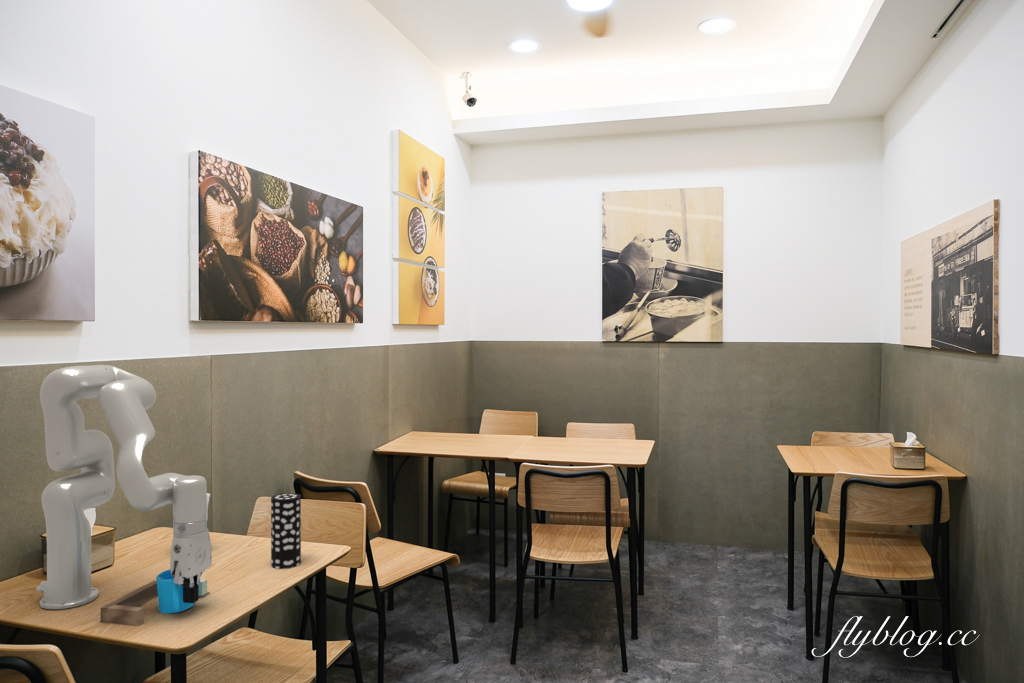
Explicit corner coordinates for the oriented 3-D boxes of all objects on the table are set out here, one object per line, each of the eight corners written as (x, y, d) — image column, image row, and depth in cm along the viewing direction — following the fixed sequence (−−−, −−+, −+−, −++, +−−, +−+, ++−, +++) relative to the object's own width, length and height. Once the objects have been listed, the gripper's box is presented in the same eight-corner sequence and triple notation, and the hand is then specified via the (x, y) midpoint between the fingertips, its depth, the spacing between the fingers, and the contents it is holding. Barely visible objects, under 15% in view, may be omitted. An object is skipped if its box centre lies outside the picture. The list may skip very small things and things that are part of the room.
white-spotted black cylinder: (265, 567, 200) (265, 498, 199) (282, 558, 208) (282, 492, 207) (289, 570, 197) (289, 500, 197) (306, 561, 205) (306, 494, 205)
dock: (100, 622, 161) (100, 607, 161) (162, 589, 182) (162, 576, 182) (152, 627, 159) (152, 612, 159) (209, 593, 180) (209, 579, 180)
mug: (159, 603, 172) (156, 571, 172) (194, 595, 176) (192, 564, 175) (158, 623, 162) (155, 589, 161) (196, 614, 165) (193, 582, 165)
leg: (163, 592, 179) (163, 578, 179) (168, 589, 181) (168, 576, 181) (202, 595, 176) (202, 582, 176) (207, 592, 178) (207, 579, 178)
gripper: (183, 536, 160) (184, 615, 160) (222, 519, 174) (222, 591, 175) (155, 535, 161) (155, 612, 161) (195, 518, 176) (196, 589, 176)
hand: (190, 601), depth 168 cm, fingers closed
